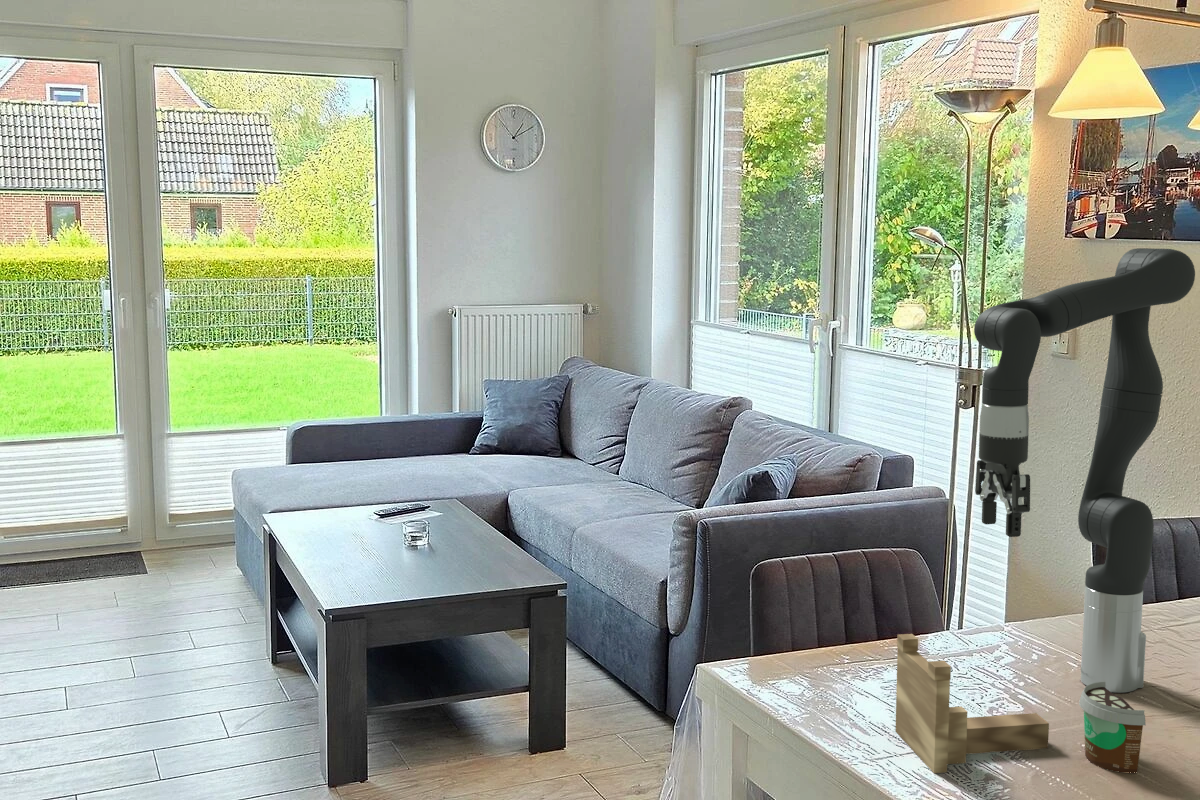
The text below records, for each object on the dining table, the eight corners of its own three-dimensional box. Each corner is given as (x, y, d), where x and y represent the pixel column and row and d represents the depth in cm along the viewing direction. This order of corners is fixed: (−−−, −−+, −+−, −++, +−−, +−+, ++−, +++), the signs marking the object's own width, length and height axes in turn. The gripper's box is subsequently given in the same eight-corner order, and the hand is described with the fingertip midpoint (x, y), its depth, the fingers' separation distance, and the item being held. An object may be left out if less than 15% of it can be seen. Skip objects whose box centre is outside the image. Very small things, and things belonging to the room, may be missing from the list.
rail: (1035, 737, 188) (1036, 700, 187) (1047, 748, 184) (1049, 710, 183) (924, 745, 185) (925, 708, 184) (935, 756, 181) (936, 718, 180)
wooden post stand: (931, 728, 191) (934, 631, 189) (973, 770, 176) (976, 665, 174) (894, 731, 190) (896, 633, 188) (932, 773, 176) (935, 668, 173)
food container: (1061, 743, 185) (1064, 681, 184) (1100, 742, 186) (1103, 680, 184) (1101, 779, 173) (1104, 713, 172) (1142, 777, 174) (1146, 711, 172)
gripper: (1048, 438, 187) (1044, 539, 190) (1005, 423, 201) (1002, 518, 203) (1002, 440, 186) (999, 542, 189) (962, 425, 200) (959, 520, 202)
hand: (1000, 529), depth 196 cm, fingers open, 8 cm apart
